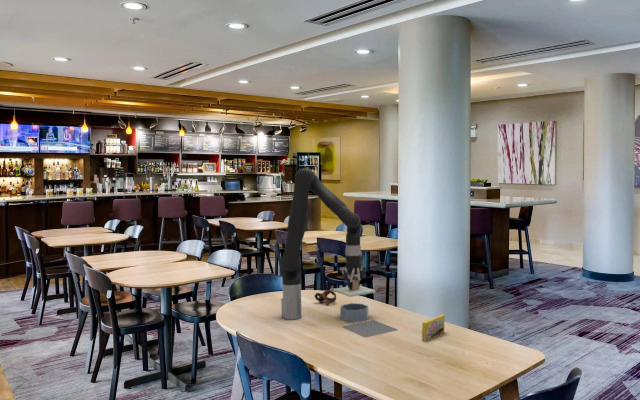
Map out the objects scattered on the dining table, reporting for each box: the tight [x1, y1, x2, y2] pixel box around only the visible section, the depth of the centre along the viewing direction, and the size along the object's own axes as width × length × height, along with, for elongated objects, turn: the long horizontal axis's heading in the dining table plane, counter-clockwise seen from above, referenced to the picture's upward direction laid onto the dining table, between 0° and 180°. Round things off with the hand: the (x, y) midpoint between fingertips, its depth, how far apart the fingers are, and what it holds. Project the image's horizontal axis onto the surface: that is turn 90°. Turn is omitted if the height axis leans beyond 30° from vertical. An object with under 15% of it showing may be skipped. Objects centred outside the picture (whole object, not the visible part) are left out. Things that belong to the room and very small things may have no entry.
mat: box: [341, 319, 399, 339], centre depth 243 cm, size 19×19×1 cm
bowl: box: [339, 302, 369, 323], centre depth 260 cm, size 13×13×6 cm
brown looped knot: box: [314, 289, 337, 306], centre depth 291 cm, size 12×10×8 cm
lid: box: [332, 279, 377, 297], centre depth 259 cm, size 15×15×6 cm
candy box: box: [421, 313, 446, 342], centre depth 231 cm, size 16×2×8 cm, turn 137°
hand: (354, 288), depth 260 cm, fingers closed on lid, 3 cm apart
